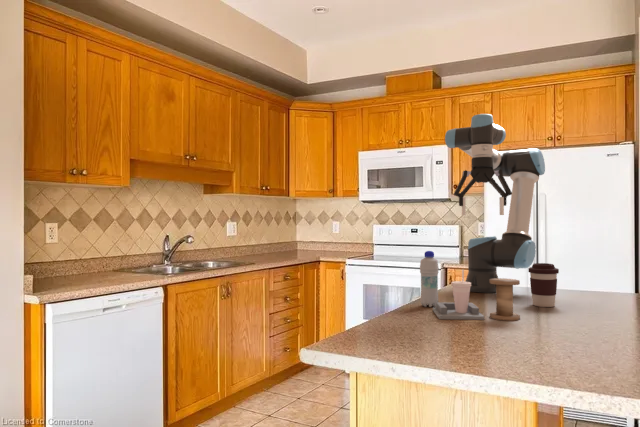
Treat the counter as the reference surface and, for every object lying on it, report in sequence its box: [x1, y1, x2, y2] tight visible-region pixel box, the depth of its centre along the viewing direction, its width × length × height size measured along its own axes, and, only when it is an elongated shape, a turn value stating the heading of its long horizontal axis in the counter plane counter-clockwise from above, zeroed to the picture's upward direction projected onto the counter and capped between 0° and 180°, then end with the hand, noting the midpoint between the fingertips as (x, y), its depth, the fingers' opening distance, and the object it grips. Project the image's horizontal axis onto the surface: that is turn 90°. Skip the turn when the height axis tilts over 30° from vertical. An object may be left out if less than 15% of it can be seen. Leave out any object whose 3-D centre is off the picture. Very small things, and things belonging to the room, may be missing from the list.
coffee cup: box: [527, 262, 560, 308], centre depth 176 cm, size 10×10×15 cm
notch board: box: [432, 301, 486, 321], centre depth 161 cm, size 14×14×3 cm
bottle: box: [419, 250, 439, 308], centre depth 177 cm, size 7×7×20 cm
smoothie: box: [450, 269, 471, 313], centre depth 161 cm, size 6×6×14 cm
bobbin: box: [489, 277, 521, 322], centre depth 156 cm, size 9×9×12 cm
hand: (482, 215), depth 179 cm, fingers open, 13 cm apart
